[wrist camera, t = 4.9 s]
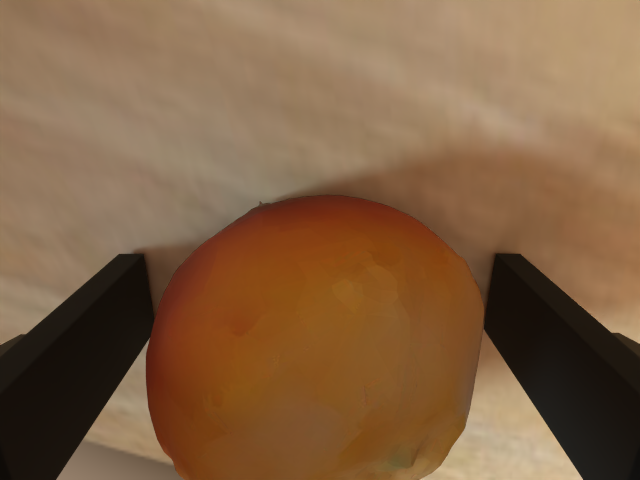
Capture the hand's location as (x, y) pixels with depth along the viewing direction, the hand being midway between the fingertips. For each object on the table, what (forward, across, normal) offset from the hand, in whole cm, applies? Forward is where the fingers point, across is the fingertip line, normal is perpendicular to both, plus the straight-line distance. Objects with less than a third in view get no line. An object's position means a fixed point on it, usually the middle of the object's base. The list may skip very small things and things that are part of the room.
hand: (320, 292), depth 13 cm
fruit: (0, 0, 0) cm, 0 cm away
